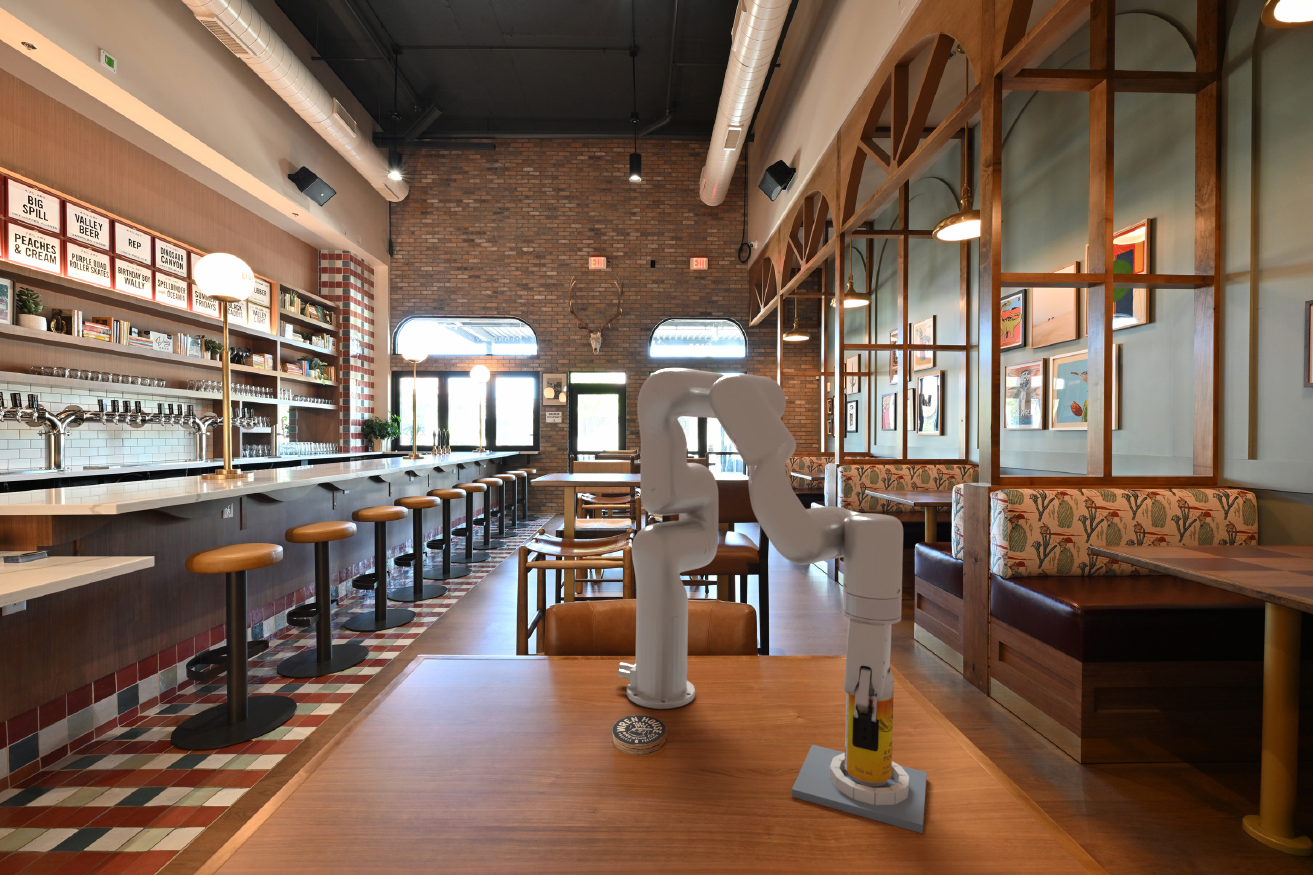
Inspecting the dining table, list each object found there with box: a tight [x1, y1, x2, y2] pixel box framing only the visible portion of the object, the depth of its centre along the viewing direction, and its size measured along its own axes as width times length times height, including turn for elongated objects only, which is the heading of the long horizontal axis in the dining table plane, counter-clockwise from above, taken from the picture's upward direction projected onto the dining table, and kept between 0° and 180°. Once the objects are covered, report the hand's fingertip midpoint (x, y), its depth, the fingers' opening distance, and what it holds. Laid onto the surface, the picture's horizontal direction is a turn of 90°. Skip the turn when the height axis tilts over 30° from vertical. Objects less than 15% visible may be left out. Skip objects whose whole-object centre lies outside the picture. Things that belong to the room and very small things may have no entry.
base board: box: [791, 744, 928, 834], centre depth 83 cm, size 16×13×2 cm
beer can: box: [844, 666, 895, 786], centre depth 83 cm, size 6×6×15 cm
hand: (868, 735), depth 83 cm, fingers closed on beer can, 6 cm apart
